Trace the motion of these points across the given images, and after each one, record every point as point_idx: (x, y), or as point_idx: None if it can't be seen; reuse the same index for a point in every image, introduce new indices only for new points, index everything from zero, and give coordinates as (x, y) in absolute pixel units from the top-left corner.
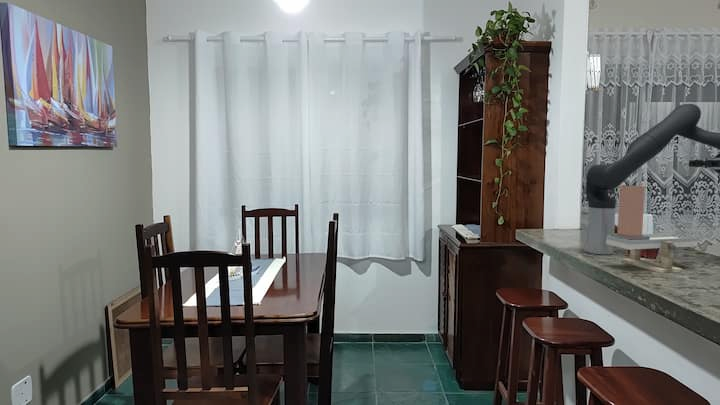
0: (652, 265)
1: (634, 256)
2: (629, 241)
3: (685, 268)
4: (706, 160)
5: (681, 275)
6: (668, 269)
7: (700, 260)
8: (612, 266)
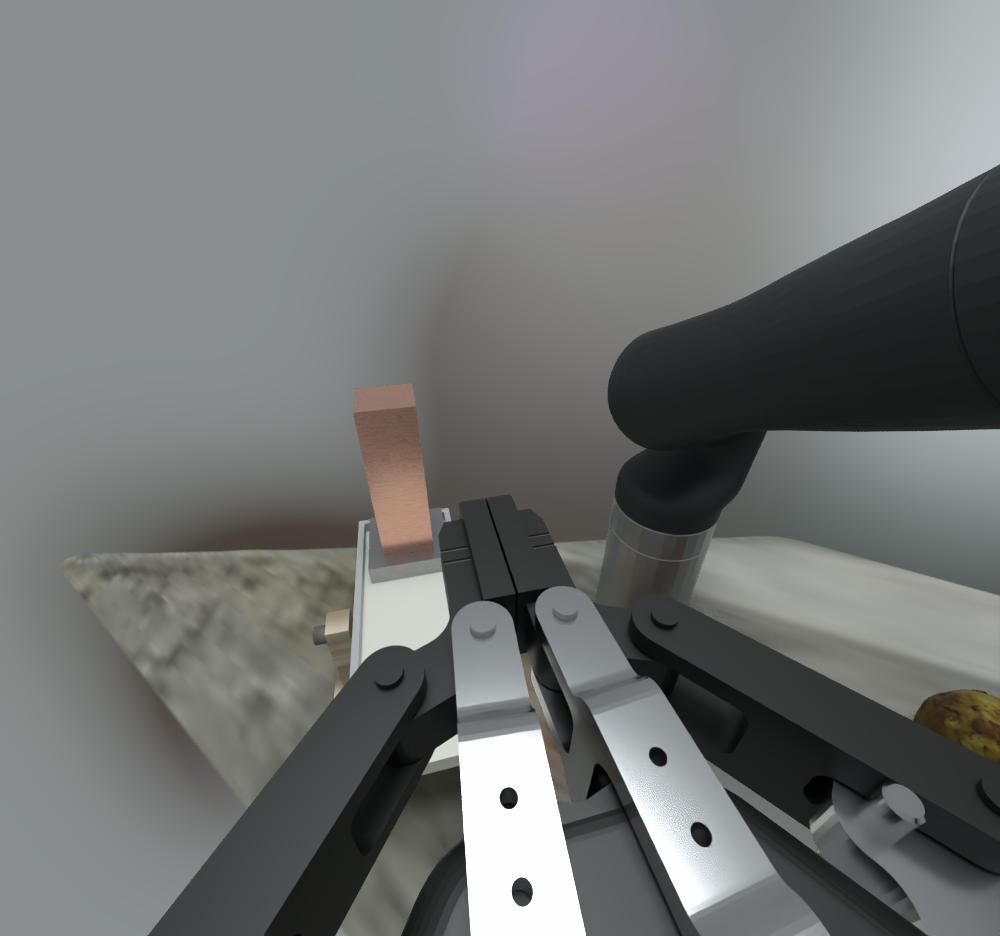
0: None
1: None
2: (359, 523)
3: None
4: (455, 654)
5: (296, 692)
6: (336, 669)
7: None
8: None
